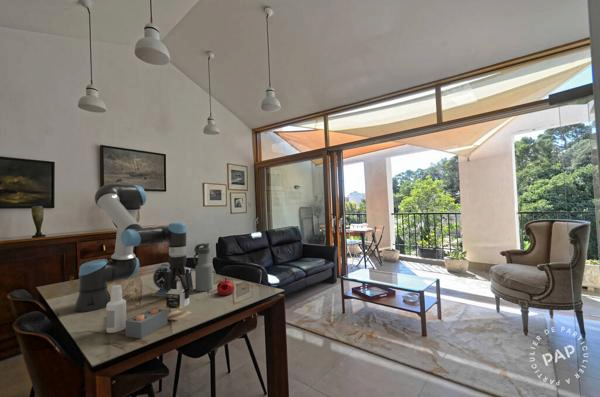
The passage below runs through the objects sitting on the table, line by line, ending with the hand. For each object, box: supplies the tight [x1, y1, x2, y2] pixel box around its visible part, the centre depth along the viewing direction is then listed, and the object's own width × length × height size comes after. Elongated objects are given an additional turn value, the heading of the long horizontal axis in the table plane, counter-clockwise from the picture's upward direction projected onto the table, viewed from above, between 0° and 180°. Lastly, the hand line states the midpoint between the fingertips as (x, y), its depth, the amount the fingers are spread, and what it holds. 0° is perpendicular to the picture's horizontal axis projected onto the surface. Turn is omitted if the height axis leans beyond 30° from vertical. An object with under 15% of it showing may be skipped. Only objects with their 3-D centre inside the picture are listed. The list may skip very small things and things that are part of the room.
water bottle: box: [193, 242, 213, 292], centre depth 162 cm, size 10×10×28 cm
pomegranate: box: [216, 277, 235, 296], centre depth 153 cm, size 10×10×9 cm
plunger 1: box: [135, 314, 144, 321], centre depth 105 cm, size 3×3×6 cm
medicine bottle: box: [165, 278, 190, 310], centre depth 123 cm, size 7×7×12 cm
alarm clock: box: [151, 262, 180, 298], centre depth 155 cm, size 14×10×18 cm
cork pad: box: [167, 309, 192, 322], centre depth 122 cm, size 9×9×1 cm
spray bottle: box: [105, 284, 127, 334], centre depth 110 cm, size 7×7×18 cm
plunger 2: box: [149, 307, 159, 314], centre depth 112 cm, size 3×3×6 cm
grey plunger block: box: [125, 307, 168, 339], centre depth 109 cm, size 8×13×6 cm, turn 163°
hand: (178, 304), depth 122 cm, fingers closed on medicine bottle, 7 cm apart
